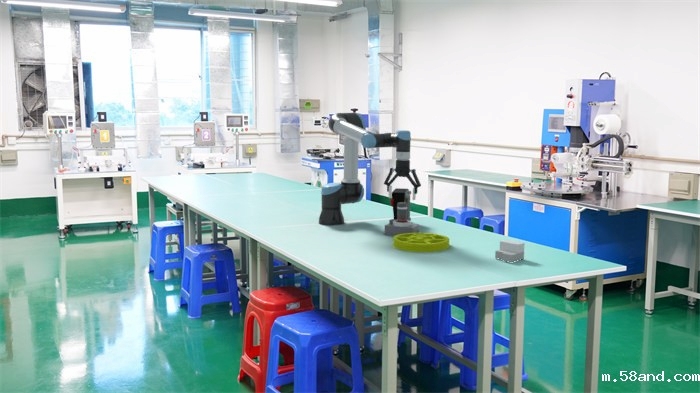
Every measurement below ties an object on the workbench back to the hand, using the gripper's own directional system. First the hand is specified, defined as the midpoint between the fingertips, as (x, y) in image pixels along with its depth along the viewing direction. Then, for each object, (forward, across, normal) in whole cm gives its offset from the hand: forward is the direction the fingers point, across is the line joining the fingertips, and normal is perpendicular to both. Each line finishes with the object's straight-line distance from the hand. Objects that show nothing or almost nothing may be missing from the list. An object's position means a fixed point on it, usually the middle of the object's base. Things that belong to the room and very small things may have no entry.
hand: (401, 198), depth 339 cm
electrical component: (+20, -9, +27) cm, 35 cm away
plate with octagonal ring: (+19, +1, 0) cm, 19 cm away
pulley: (+19, +19, -23) cm, 36 cm away
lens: (+14, +1, 0) cm, 14 cm away
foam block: (+19, +66, -37) cm, 78 cm away
